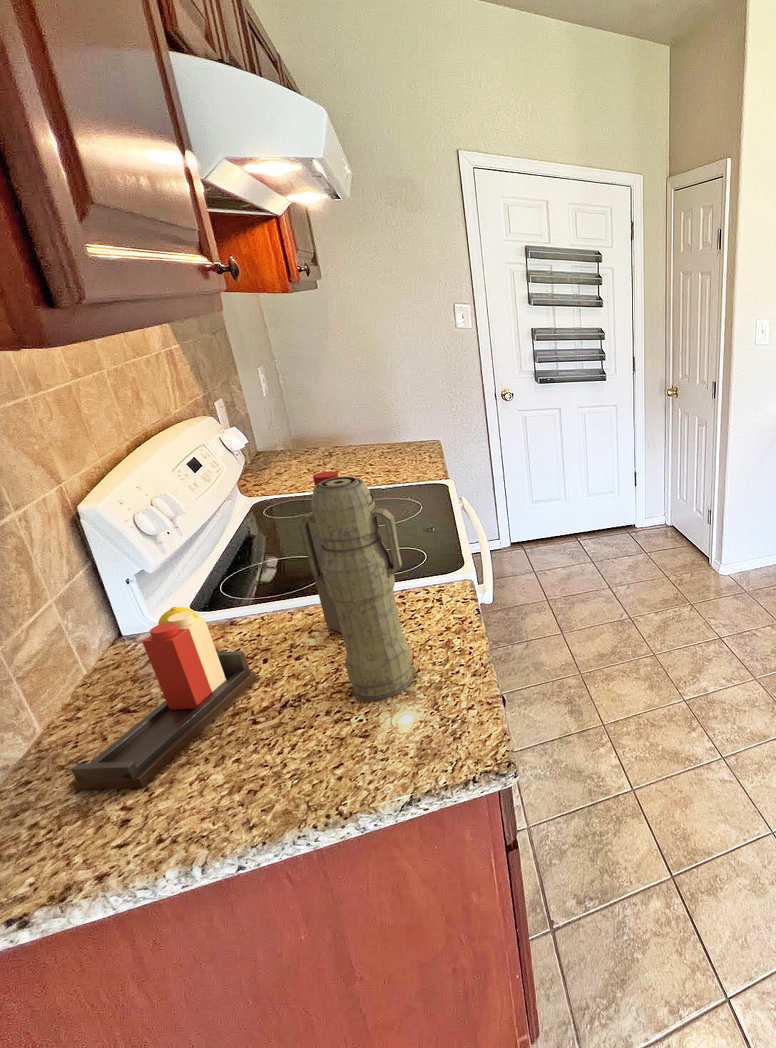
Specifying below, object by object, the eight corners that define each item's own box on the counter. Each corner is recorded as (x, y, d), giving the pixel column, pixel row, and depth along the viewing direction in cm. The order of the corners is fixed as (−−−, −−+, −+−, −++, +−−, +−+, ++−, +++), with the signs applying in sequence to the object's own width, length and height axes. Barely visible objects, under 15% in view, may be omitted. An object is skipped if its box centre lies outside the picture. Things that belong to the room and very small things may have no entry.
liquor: (397, 616, 112) (367, 471, 102) (351, 639, 105) (314, 486, 94) (367, 605, 116) (335, 464, 105) (321, 626, 108) (281, 477, 98)
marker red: (169, 709, 84) (138, 633, 79) (185, 696, 87) (156, 622, 82) (198, 708, 84) (169, 633, 80) (213, 695, 87) (186, 621, 83)
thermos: (423, 689, 92) (383, 486, 80) (338, 708, 88) (281, 496, 75) (425, 659, 100) (388, 468, 87) (346, 675, 95) (296, 476, 83)
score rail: (74, 790, 73) (58, 757, 71) (205, 680, 93) (195, 652, 91) (142, 787, 73) (127, 754, 71) (257, 678, 94) (248, 650, 92)
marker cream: (185, 696, 87) (156, 622, 82) (200, 683, 90) (173, 611, 85) (213, 695, 87) (186, 621, 83) (227, 682, 90) (202, 610, 85)
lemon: (167, 644, 102) (152, 605, 99) (208, 634, 105) (194, 596, 102) (165, 659, 98) (150, 619, 95) (208, 648, 101) (194, 609, 98)
